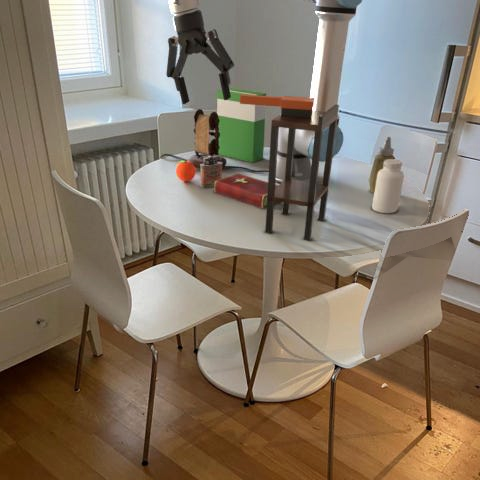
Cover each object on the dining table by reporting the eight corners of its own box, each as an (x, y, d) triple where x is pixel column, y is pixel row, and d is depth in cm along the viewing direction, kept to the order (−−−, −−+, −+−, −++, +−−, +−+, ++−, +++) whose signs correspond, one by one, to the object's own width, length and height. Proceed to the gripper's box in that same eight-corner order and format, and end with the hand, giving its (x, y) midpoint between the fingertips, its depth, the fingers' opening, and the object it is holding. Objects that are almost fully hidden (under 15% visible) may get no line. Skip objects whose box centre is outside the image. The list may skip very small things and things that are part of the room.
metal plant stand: (265, 232, 145) (272, 111, 127) (283, 212, 158) (292, 100, 140) (309, 240, 141) (322, 116, 123) (324, 219, 154) (339, 104, 136)
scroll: (179, 167, 194) (177, 110, 182) (203, 159, 204) (203, 104, 192) (210, 175, 187) (210, 116, 176) (234, 166, 197) (234, 110, 186)
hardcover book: (262, 208, 160) (263, 195, 158) (214, 192, 172) (214, 180, 169) (285, 199, 168) (286, 186, 166) (237, 184, 179) (238, 172, 177)
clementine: (170, 182, 180) (168, 161, 176) (179, 176, 185) (178, 156, 181) (190, 185, 177) (189, 164, 173) (199, 179, 183) (198, 159, 178)
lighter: (202, 188, 175) (202, 158, 169) (198, 185, 177) (198, 156, 171) (224, 185, 178) (224, 156, 172) (219, 182, 180) (219, 153, 175)
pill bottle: (368, 205, 166) (376, 157, 157) (392, 204, 166) (401, 157, 158) (375, 214, 159) (384, 165, 150) (400, 213, 160) (411, 165, 151)
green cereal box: (217, 154, 210) (217, 90, 196) (228, 150, 215) (228, 87, 201) (252, 162, 202) (255, 95, 188) (263, 158, 207) (266, 93, 193)
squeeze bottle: (391, 196, 173) (402, 141, 162) (366, 194, 174) (376, 139, 163) (390, 189, 179) (400, 135, 169) (366, 187, 180) (376, 133, 170)
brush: (238, 113, 133) (238, 96, 131) (242, 109, 138) (242, 93, 135) (310, 118, 130) (312, 101, 128) (312, 114, 135) (314, 97, 132)
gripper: (139, 22, 132) (162, 108, 145) (222, 6, 121) (239, 101, 134) (154, 16, 137) (176, 100, 150) (235, 0, 126) (251, 92, 139)
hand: (206, 101), depth 142 cm, fingers open, 13 cm apart
